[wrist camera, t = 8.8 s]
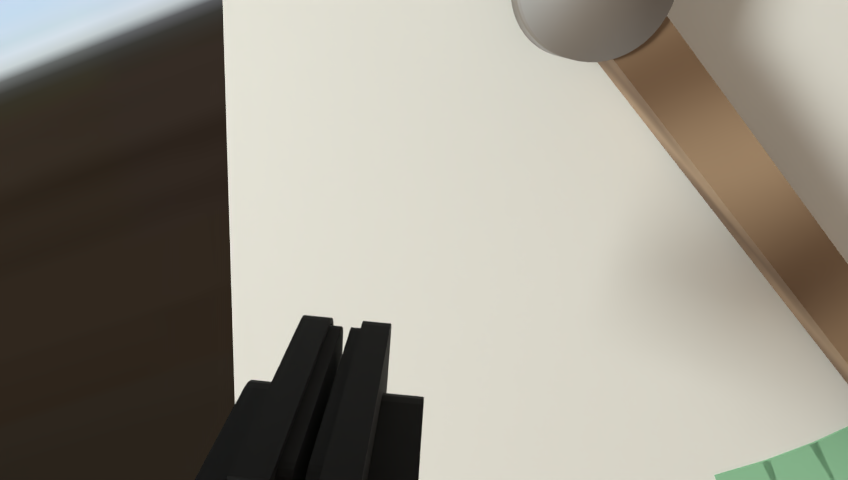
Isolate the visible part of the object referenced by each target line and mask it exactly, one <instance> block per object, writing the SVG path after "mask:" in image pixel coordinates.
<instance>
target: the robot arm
mask: <svg viewBox="0 0 848 480" xmlns="http://www.w3.org/2000/svg"><path fill="white" fill-rule="evenodd" d="M390 341H391V323H381V322H371V321H363V322H362V325H361V328H354V327H351V328H350V331H349V335H348V338H347V341H346V344H345V348H344V351H343V327H342V326H334V324H333V318H330V317H320V316H310V315H303V316H302V318H301V320H300V322H299V324H298V326H297V328H296V331H295V333H294V335H293V337H292V339H291V341H290V343H289V345H288V348H287V350H286V352H285V354H284V356H283V358H282V360H281V362H280V365H279V367H278V369H277V371H276V373H275V375H274V377H273V380H272V382H270V381H259V380H250V381H248V382H247V384H246V385H245V387H244V389H243V390H242V392H241V394H240V396H239V398H238V400H237V402H236V404H235V405H234V407H233V409H232V411H231V413H230V415H229V417H228V419H227V420H226V422H225V424H224V426H223V428H222V430H221V432H220V434H219V435H218V437H217V439H216V441H215V443H214V445H213V447H212V449H211V450H210V452H209V454H208V456H207V458H206V460H205V462H204V464H203V465H202V467H201V469H200V471H199V473H198V475H197V477H196V479H195V480H418V479H419V465H420V450H421V436H422V421H423V406H424V397H421V396H411V395H401V394H391V393H387V381H388V367H389V354H390ZM342 351H343V354H342Z"/></svg>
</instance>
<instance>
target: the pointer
mask: <svg viewBox="0 0 848 480" xmlns="http://www.w3.org/2000/svg"><path fill="white" fill-rule="evenodd" d="M511 2H512V8H513V12H514V15H515V18H516V21H517V23H518V25H519V27H520V29H521V30H522V31H523V33H524V34H525V36H526V37H527V38H528V39H529V40H530V41H531V42H532V43H533V44H534V45H536V46H537V47H538V48H540V49H542V50H543V51H545V52H548V53H550V54H552V55H556V56H560V57H564V58H568V59H572V60H575V61H581V62H597V63H598V64H599V65H600V66H601V68H602V69H603V70H604V72H605V73H606V74H607V75H608V77H609V78H610V79H611V80H612V82H613V83H614V84H615V86H616V87H617V88H618V89H619V91H620V92H621V93H622V95H623V96H624V97H625V98H626V100H627V101H628V102H629V104H630V105H631V106H632V107H633V109H634V110H635V111H636V113H637V114H638V115H639V116H640V118H641V119H642V120H643V122H644V123H645V124H646V125H647V127H648V128H649V129H650V131H651V132H652V133H653V134H654V136H655V137H656V138H657V140H658V141H659V142H660V143H661V145H662V146H663V147H664V149H665V150H666V151H667V152H668V154H669V155H670V156H671V158H672V159H673V160H674V161H675V163H676V164H677V165H678V167H679V168H680V169H681V170H682V172H683V173H684V174H685V176H686V177H687V178H688V179H689V181H690V182H691V183H692V185H693V186H694V187H695V188H696V190H697V191H698V192H699V194H700V195H701V196H702V197H703V199H704V200H705V201H706V203H707V204H708V205H709V206H710V208H711V209H712V210H713V212H714V213H715V214H716V215H717V217H718V218H719V219H720V221H721V222H722V223H723V224H724V226H725V227H726V228H727V230H728V231H729V232H730V233H731V235H732V236H733V237H734V239H735V240H736V241H737V242H738V244H739V245H740V246H741V248H742V249H743V250H744V251H745V253H746V254H747V255H748V257H749V258H750V259H751V260H752V262H753V263H754V264H755V266H756V267H757V268H758V269H759V271H760V272H761V273H762V275H763V276H764V277H765V278H766V280H767V281H768V282H769V283H770V285H771V286H772V287H773V289H774V290H775V291H776V292H777V294H778V295H779V296H780V298H781V299H782V300H783V301H784V303H785V304H786V305H787V307H788V308H789V309H790V310H791V312H792V313H793V314H794V316H795V317H796V318H797V319H798V321H799V322H800V323H801V325H802V326H803V327H804V328H805V330H806V331H807V332H808V334H809V335H810V336H811V337H812V339H813V340H814V341H815V343H816V344H817V345H818V346H819V348H820V349H821V350H822V352H823V353H824V354H825V355H826V357H827V358H828V359H829V361H830V362H831V363H832V364H833V366H834V367H835V368H836V370H837V371H838V372H839V373H840V375H841V376H842V377H843V379H844V380H845V381H846V382H847V384H848V264H847V262H846V261H845V260H844V258H843V257H842V255H841V254H840V253H839V251H838V250H837V249H836V247H835V246H834V245H833V243H832V242H831V240H830V239H829V238H828V236H827V235H826V234H825V232H824V231H823V229H822V228H821V227H820V225H819V224H818V223H817V221H816V220H815V218H814V217H813V216H812V214H811V213H810V212H809V210H808V209H807V207H806V206H805V205H804V203H803V202H802V201H801V199H800V198H799V196H798V195H797V194H796V192H795V191H794V190H793V188H792V187H791V185H790V184H789V183H788V181H787V180H786V179H785V177H784V176H783V174H782V173H781V172H780V170H779V169H778V168H777V166H776V165H775V164H774V162H773V161H772V159H771V158H770V157H769V155H768V154H767V153H766V151H765V150H764V148H763V147H762V146H761V144H760V143H759V142H758V140H757V139H756V137H755V136H754V135H753V133H752V132H751V131H750V129H749V128H748V126H747V125H746V124H745V122H744V121H743V120H742V118H741V117H740V115H739V114H738V113H737V111H736V110H735V109H734V107H733V106H732V104H731V103H730V102H729V100H728V99H727V98H726V96H725V95H724V93H723V92H722V91H721V89H720V88H719V87H718V85H717V84H716V82H715V81H714V80H713V78H712V77H711V76H710V74H709V73H708V72H707V70H706V69H705V67H704V66H703V65H702V63H701V62H700V61H699V59H698V58H697V56H696V55H695V54H694V52H693V51H692V50H691V48H690V47H689V45H688V44H687V43H686V41H685V40H684V39H683V37H682V36H681V34H680V33H679V32H678V30H677V29H676V28H675V26H674V25H673V23H672V22H671V21H670V19H669V18H668V17H667V15H668V13H669V11H670V9H671V7H672V4H673V2H674V0H511Z"/></svg>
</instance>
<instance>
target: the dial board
mask: <svg viewBox="0 0 848 480" xmlns="http://www.w3.org/2000/svg"><path fill="white" fill-rule="evenodd" d="M667 17H668V18H669V19H670V21H671V22H672V23H673V25H674V26H675V28H676V29H677V30H678V32H679V33H680V34H681V36H682V37H683V39H684V40H685V41H686V43H687V44H688V45H689V47H690V48H691V50H692V51H693V52H694V54H695V55H696V56H697V58H698V59H699V61H700V62H701V63H702V65H703V66H704V67H705V69H706V70H707V72H708V73H709V74H710V76H711V77H712V78H713V80H714V81H715V82H716V84H717V85H718V87H719V88H720V89H721V91H722V92H723V93H724V95H725V96H726V98H727V99H728V100H729V102H730V103H731V104H732V106H733V107H734V109H735V110H736V111H737V113H738V114H739V115H740V117H741V118H742V120H743V121H744V122H745V124H746V125H747V126H748V128H749V129H750V131H751V132H752V133H753V135H754V136H755V137H756V139H757V140H758V142H759V143H760V144H761V146H762V147H763V148H764V150H765V151H766V153H767V154H768V155H769V157H770V158H771V159H772V161H773V162H774V164H775V165H776V166H777V168H778V169H779V170H780V172H781V173H782V174H783V176H784V177H785V179H786V180H787V181H788V183H789V184H790V185H791V187H792V188H793V190H794V191H795V192H796V194H797V195H798V196H799V198H800V199H801V201H802V202H803V203H804V205H805V206H806V207H807V209H808V210H809V212H810V213H811V214H812V216H813V217H814V218H815V220H816V221H817V223H818V224H819V225H820V227H821V228H822V229H823V231H824V232H825V234H826V235H827V236H828V238H829V239H830V240H831V242H832V243H833V245H834V246H835V247H836V249H837V250H838V251H839V253H840V254H841V255H842V257H843V258H844V260H845V261H846V262H847V264H848V0H674V2H673V4H672V7H671V9H670V11H669V13H668V15H667ZM223 24H224V57H225V90H226V123H227V156H228V189H229V222H230V255H231V288H232V321H233V354H234V387H235V404H236V402H237V400H238V398H239V396H240V394H241V392H242V390H243V389H244V387H245V385H246V384H247V382H248V381H250V380H259V381H270V382H272V380H273V377H274V375H275V373H276V371H277V369H278V367H279V365H280V362H281V360H282V358H283V356H284V354H285V352H286V350H287V348H288V345H289V343H290V341H291V339H292V337H293V335H294V333H295V331H296V328H297V326H298V324H299V322H300V320H301V318H302V316H303V315H310V316H320V317H330V318H333V324H334V326H342V327H343V351H344V348H345V344H346V341H347V338H348V335H349V331H350V328H351V327H354V328H361V325H362V322H363V321H371V322H381V323H391V341H390V354H389V367H388V381H387V393H391V394H401V395H411V396H421V397H424V406H423V421H422V436H421V450H420V465H419V479H418V480H848V384H847V382H846V381H845V380H844V379H843V377H842V376H841V375H840V373H839V372H838V371H837V370H836V368H835V367H834V366H833V364H832V363H831V362H830V361H829V359H828V358H827V357H826V355H825V354H824V353H823V352H822V350H821V349H820V348H819V346H818V345H817V344H816V343H815V341H814V340H813V339H812V337H811V336H810V335H809V334H808V332H807V331H806V330H805V328H804V327H803V326H802V325H801V323H800V322H799V321H798V319H797V318H796V317H795V316H794V314H793V313H792V312H791V310H790V309H789V308H788V307H787V305H786V304H785V303H784V301H783V300H782V299H781V298H780V296H779V295H778V294H777V292H776V291H775V290H774V289H773V287H772V286H771V285H770V283H769V282H768V281H767V280H766V278H765V277H764V276H763V275H762V273H761V272H760V271H759V269H758V268H757V267H756V266H755V264H754V263H753V262H752V260H751V259H750V258H749V257H748V255H747V254H746V253H745V251H744V250H743V249H742V248H741V246H740V245H739V244H738V242H737V241H736V240H735V239H734V237H733V236H732V235H731V233H730V232H729V231H728V230H727V228H726V227H725V226H724V224H723V223H722V222H721V221H720V219H719V218H718V217H717V215H716V214H715V213H714V212H713V210H712V209H711V208H710V206H709V205H708V204H707V203H706V201H705V200H704V199H703V197H702V196H701V195H700V194H699V192H698V191H697V190H696V188H695V187H694V186H693V185H692V183H691V182H690V181H689V179H688V178H687V177H686V176H685V174H684V173H683V172H682V170H681V169H680V168H679V167H678V165H677V164H676V163H675V161H674V160H673V159H672V158H671V156H670V155H669V154H668V152H667V151H666V150H665V149H664V147H663V146H662V145H661V143H660V142H659V141H658V140H657V138H656V137H655V136H654V134H653V133H652V132H651V131H650V129H649V128H648V127H647V125H646V124H645V123H644V122H643V120H642V119H641V118H640V116H639V115H638V114H637V113H636V111H635V110H634V109H633V107H632V106H631V105H630V104H629V102H628V101H627V100H626V98H625V97H624V96H623V95H622V93H621V92H620V91H619V89H618V88H617V87H616V86H615V84H614V83H613V82H612V80H611V79H610V78H609V77H608V75H607V74H606V73H605V72H604V70H603V69H602V68H601V66H600V65H599V64H598V63H597V62H581V61H575V60H572V59H568V58H564V57H560V56H556V55H552V54H550V53H548V52H545V51H543V50H542V49H540V48H538V47H537V46H536V45H534V44H533V43H532V42H531V41H530V40H529V39H528V38H527V37H526V36H525V34H524V33H523V31H522V30H521V29H520V27H519V25H518V23H517V21H516V18H515V15H514V12H513V8H512V2H511V0H223ZM343 351H342V354H343Z"/></svg>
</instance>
